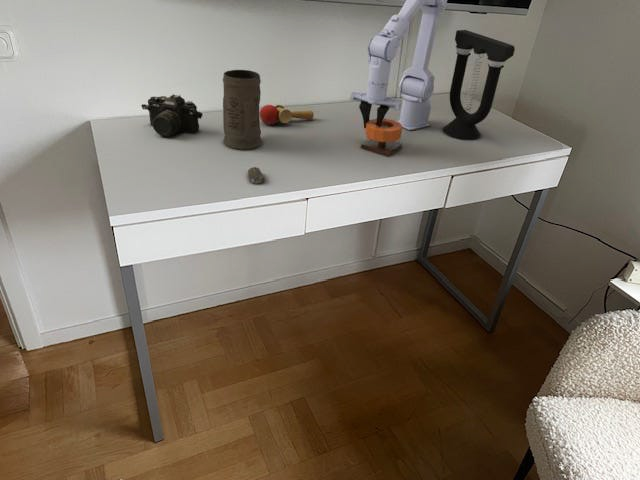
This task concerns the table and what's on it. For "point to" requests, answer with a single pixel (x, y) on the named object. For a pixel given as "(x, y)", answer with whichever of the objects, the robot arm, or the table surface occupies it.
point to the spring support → (497, 56)
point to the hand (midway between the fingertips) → (371, 128)
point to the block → (255, 175)
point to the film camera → (172, 115)
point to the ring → (383, 130)
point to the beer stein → (241, 109)
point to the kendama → (282, 114)
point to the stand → (381, 146)
